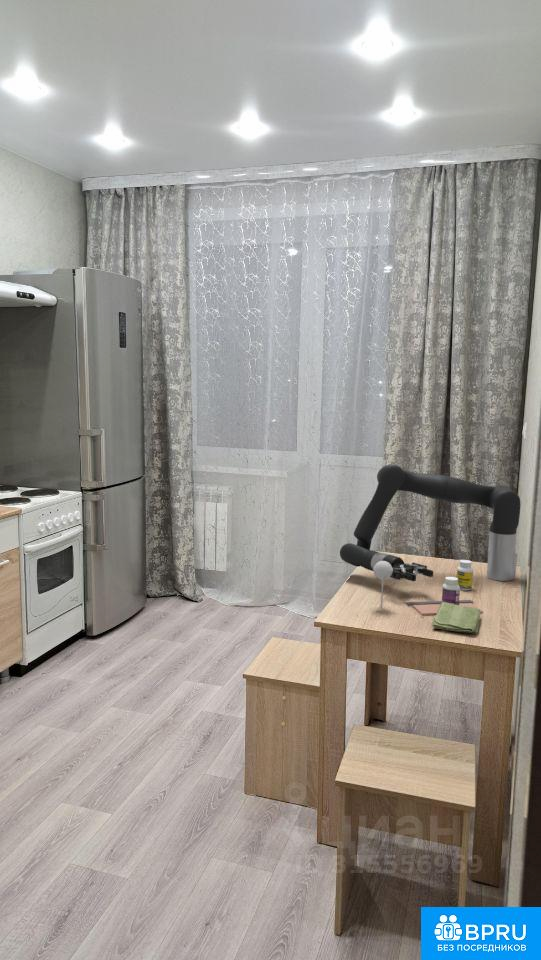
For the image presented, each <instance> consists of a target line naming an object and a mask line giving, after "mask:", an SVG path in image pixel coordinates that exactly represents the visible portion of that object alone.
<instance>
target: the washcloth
mask: <svg viewBox="0 0 541 960" xmlns="http://www.w3.org/2000/svg"><path fill="white" fill-rule="evenodd" d="M478 608H479V607H478ZM478 608H473V607H467V606H459V605H455V604H451V603H446V602H442V603H441V605H440V607H439V610H438V612H437V615H434V618H433V620H432V623H431V626H432V627H434V629H439V630H443V631H451V632H458V633H467V634H468V633H469V634H473V635H477V633H479V627H480V620H481V618H480V617H481V613H480V608H479V609H478Z"/></svg>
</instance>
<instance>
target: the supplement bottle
mask: <svg viewBox="0 0 541 960" xmlns="http://www.w3.org/2000/svg"><path fill="white" fill-rule="evenodd" d="M473 575H474V568H473V567H472V561H471V560H468V559H460V560H459V566H457V569H456V578H458V585H459V586H460V591H471V590H472V589H473V578H474V576H473Z"/></svg>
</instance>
